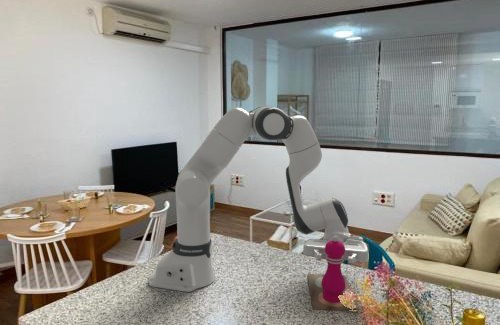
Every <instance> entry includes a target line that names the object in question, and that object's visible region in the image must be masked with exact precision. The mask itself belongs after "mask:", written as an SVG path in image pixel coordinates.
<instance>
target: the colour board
mask: <svg viewBox="0 0 500 325" xmlns="http://www.w3.org/2000/svg"><path fill="white" fill-rule="evenodd" d="M324 275H325V273H324V274H321V273H307V276H306V277H307V281H308V282H307V283H308V289H309V296H310V301H311V307H312V308H311V309H312V311H326V312H327V311H328V312H330V311H331V312H345V311H349V310H352V309H350V308H347V307H345V306H344V305H343V304H341V302H339V303H331V302H328V301H326V300H324V299H323V290H324V289H323V288H322V285H321V283H322V279H323V276H324ZM342 275H343V274H342ZM343 278H344V280H345V290H344V291H343V293H345V291H346V290H347V289H350V286H349V285H350V284H349V283H348V281H347V278H346V275H345V274H344V275H343ZM350 290H351V289H350ZM353 310H357V311H358V308H354V309H353Z"/></svg>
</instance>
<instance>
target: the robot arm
mask: <svg viewBox="0 0 500 325" xmlns="http://www.w3.org/2000/svg"><path fill="white" fill-rule="evenodd" d="M253 135H256V136H257V137H258V138H260V139H263V140H266V141H279V140H281V141H282V142H283V144H284V145H285V148H286V151H287V153H288V157H289V164H288V166H286V168H285V178H286V180H285V181H286V184H287V189H288V195H289V200H290V205H291V210H292V215H293V216H292V217H293V224H294V227H295V228H296V230H297V232H299V233H301V234H303V235H310V234H312V233H315V232H317V231H320V230H324V234H323V239H322V238H320V239H318V238H309V239H306V240H305V241H304V243H303V248H302V251H303V252H302V254H303V255H304V256H306V257H314V258H315V260H316V261H319V262H320V261H322V258H323V259H326V256H327V254H326V252H325V245H326V244H327V242H329V241H331V240H333V239H332V238H333V237H334V236H337V237H338V241H340V242H342V243H343V245H344V246H345V253H344V255H343V256H342V257H343V261H347V264H348V265H353V264H354V263H356V262H358V263H359V262H360V263H366V262H368V261H369V248H368V245H367V244H366V243H365V242H364V238H363V237H362V236H360V235H359V236H358V235H356V234H351V233H350V232H349V228H348V224H349V218H348V213H347V212H346V208H345V205H343V203H342V202H341V201H340V200H338V199H336V198H334V197H330V198H327V199H324V200H320V201H317V202H314V203H311V204H307V205H305V204H304V202H303V197H302V191H301V187H300V185H301V182H302V181H303V180H304V179H305V178H306V177H307V176H309V175H310V174H312V172H313V171H315V170H316V168H317V167H318V166H319V165H320V163H321V161H322V157H323V154H322V149H321V145H320V142H319V140H318V138H317V135H316V132H315V131H314V129H313V127H312V125H311V123H310V122H309V120H308V118H307V117H305V116H304V115H300V114H299V115H298V114H297V115H291V116H290V115H289V114H287V113H286V112H285V111H284V110H282V109H280V108H278V107H275V106H272V105H263V106H259V107H257V108H255V109H253V110H250V111H248V110H246V109H244V108H242V107H238V106H237V107H231V108H230V109H229V110H228V111H227V112H226V113H225V114H224V115H223V116H222V117H221V118H219V120H218V121H217V123H216V124H215V126H214V127H213V128H212V129H211V130H210V132H209V133H208V135H207V136H206V138H205V139H204V141H203V142H202V143H201V145H200V146H199V147H198V149H197V150H196V151H195V153H194V154H193V155H192V156H191V158H190V159H189V160H188V161H187V163H186V164H185V165H184V166H183V168H182V169H181V171H180V172H179V174H178V175H177V180H176V183H175V189H174V190H175V207H176V227H177V229H176V231H177V232H176V233H177V236H175V237H174V238H173V241H172V242H171V246H170V248H171V251H169V252H168V253H166V254H165V255H164V256H162V257H161V259H159V261H158V262H157V263H156V264H157V265H156V268H155V270H154V271H153V272H152V273H151V275H150V276H149V278H148V285H149V286H150V287H153V288H161V289H166V290H173V291H179V292H186V293H190V292H193V291H195V290H196V289H201V288H204V287H207V286H209V285H211V284H212V283H213V282H214V281H215V279H216V276H215V273H214V269H213V268H214V267H213V264H212V253H213V250H212V249H213V248H212V247H213V246H212V245H213V244H212V239H211V221H210V220H211V185H212V184H213V182H214V181H215V180H216V179H217V177H218V176H219V175H220V174H221V173H222V172H223V170H225V169H226V168H227V167H228V165H229V164H230V163H231V161H232V160H233V158H234V157H235V155H236V154H237V153H238V152H239V150H240V148H242V145H243V144H244V143H245V141H246V140H247V139H248V138H249V137H251V136H253Z"/></svg>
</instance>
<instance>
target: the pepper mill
mask: <svg viewBox="0 0 500 325" xmlns="http://www.w3.org/2000/svg"><path fill="white" fill-rule="evenodd" d="M332 239H333V240H331V241H329V242H327V244H326V245H325V252H326V254H327V256H326V258H325V260H326V261H327V268H326V271H325V273H324V274H325V275H324V276H323V279H322V283H321V285H322V288H323V289H324V290H323V299H324V300H326V301H328V302H331V303H339V302H340V300H339V298H338V296H339V295H343V291H344V290H345V280H344V278H343V273H342V269H341V268H342V263H343V262H344V260H343V257H342V256H343V255H344V253H345V246H344V245H343V243H342V242H340V241H338V237H337V236H334V237H333V238H332Z"/></svg>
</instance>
